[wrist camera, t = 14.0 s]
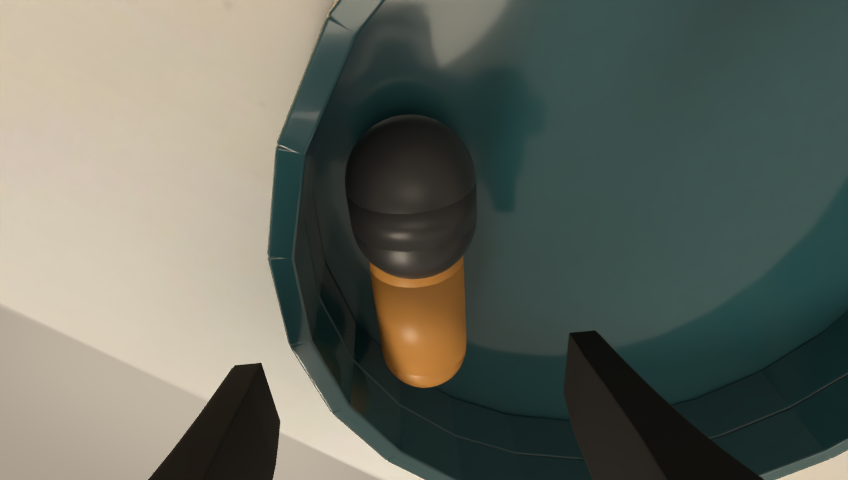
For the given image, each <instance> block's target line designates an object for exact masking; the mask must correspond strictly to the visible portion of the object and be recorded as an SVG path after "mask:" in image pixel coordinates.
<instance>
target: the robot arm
mask: <svg viewBox="0 0 848 480" xmlns="http://www.w3.org/2000/svg"><path fill="white" fill-rule="evenodd" d="M563 395H564V399H565V402H566V406H567V410H568V414H569V417H570V421H571V424H572V428H573V431H574V435H575V437H576V440H577V442H578V445H579V447H580V450H581V452H582V455H583V457H584V460H585V462H586V464H587V467H588V469H589V472H590V474H591V477H592V479H593V480H764V479H763V478H761V477H760V476H758V475H757V474H756V473H754V472H753V471H751V470H750V469H749V468H747V467H746V466H744V465H743V464H742V463H740V462H739V461H738V460H736V459H735V458H734V457H732V456H731V455H730V454H729V453H727V452H726V451H725V450H723V449H722V448H721V447H719V446H718V445H717V444H716V443H714V442H713V441H712V440H711V439H709V438H708V437H707V436H706V435H705V434H703V433H702V432H701V431H700V430H699V429H697V428H696V427H695V426H694V425H693V424H692V423H690V422H689V421H688V420H687V419H686V418H685V417H683V416H682V415H681V414H680V413H679V412H678V411H677V410H676V409H674V408H673V407H672V406H671V405H670V404H669V403H668V402H667V401H666V400H665V399H664V398H663V397H662V396H660V395H659V394H658V393H657V392H656V391H655V390H654V389H653V388H652V387H651V386H650V385H649V384H648V383H647V382H646V381H645V380H644V379H643V378H642V377H641V376H640V375H639V374H638V373H637V372H636V371H635V370H634V369H633V368H632V367H631V366H630V365H629V364H628V363H627V362H626V361H625V360H624V359H623V358H622V357H621V356H620V355H619V354H618V353H617V352H616V351H615V350H614V349H613V348H612V347H611V346H610V345H609V344H608V343H607V341H606V340H605V339H604V338H603V337H602V336H601V335H600V334H599V333H598V332H597V331H595V330H593V331H583V332H573V333H569V340H568V350H567V360H566V369H565V379H564V389H563ZM279 429H280V419H279V416H278V413H277V410H276V407H275V404H274V401H273V398H272V395H271V392H270V389H269V386H268V382H267V379H266V376H265V373H264V370H263V367H262V364H261V363H256V364H245V365H235V366H234V367H233V368H232V369H231V371H230V372H229V373H228V375H227V376H226V378H225V379H224V381H223V382H222V383H221V385H220V386H219V388H218V389H217V391H216V392H215V393H214V395H213V396H212V398H211V399H210V400H209V402H208V403H207V405H206V406H205V407H204V409H203V410H202V412H201V413H200V414H199V416H198V417H197V419H196V420H195V421H194V423H193V424H192V425H191V426H190V428H189V429H188V430H187V432H186V433H185V434H184V436H183V437H182V438H181V440H180V441H179V442H178V444H177V445H176V446H175V448H174V449H173V450H172V452H171V453H170V454H169V455H168V456H167V457H166V459H165V460H164V461H163V462H162V464H161V465H160V466H159V467H158V469H157V470H156V471H155V472H154V473H153V475H152V476H151V477H150V478H149V479H148V480H272V479H273V475H274V470H275V465H276V458H277V449H278V439H279Z"/></svg>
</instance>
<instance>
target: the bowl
mask: <svg viewBox="0 0 848 480" xmlns="http://www.w3.org/2000/svg"><path fill="white" fill-rule="evenodd" d="M408 114H413V115H422V116H426V117H429V118H432V119H435V120H438V121H440V122H441V123H443V124H445V125H446V126H448V127H449V128H451V129H452V130H453V131H454V132H455V133H456V134H457V135H458V136H459V137H460V138H461V139H462V140H463V142H464V144H465V145H466V147H467V148H468V150H469V152H470V154H471V157H472V160H473V163H474V166H475V174H476V197H477V219H476V229H475V232H474V235H473V238H472V241H471V244H470V246H469V247H468V249H467V250H466V252H465V254H464V255H463V257H464V285H465V314H466V342H467V344H466V354H465V357H464V360H463V363H462V365H461V367H460V368H459V370H458V371H457V372H456V374H455V375H454V376H453V377H452V378H450V379H449V380H448V381H446V382H444V383H442V384H440V385H438V386H434V387H429V388H420V387H414V386H411V385H408V384H406V383H404V382H402V381H401V380H399V379H398V378H397V377H396V376H395V375H394V374H393V373H392V372H391V371H390V369H389V368H388V366H387V364H386V362H385V359H384V356H383V353H382V347H381V340H380V333H379V327H378V320H377V314H376V307H375V301H374V294H373V288H372V281H371V275H370V268H369V260H368V259H367V258H366V257H365V255H364V254H363V253H362V252H361V250H360V248H359V246H358V245H357V243H356V240H355V238H354V234H353V231H352V227H351V221H350V215H349V209H348V203H347V197H346V191H345V172H346V166H347V161H348V159H349V156H350V154H351V151H352V149H353V147H354V146H355V144H356V143H357V142H358V140H359V139H360V137H361V136H362V135H363V134H364V133H365V132H367V131H368V130H369V129H370V128H371V127H372V126H374V125H375V124H377V123H379V122H381V121H383V120H385V119H387V118H390V117H394V116H399V115H408ZM267 253H268V261H269V265H270V269H271V274H272V278H273V282H274V286H275V290H276V294H277V298H278V302H279V306H280V310H281V314H282V318H283V322H284V326H285V331H286V335H287V339H288V343H289V344H290V347H291V349H292V351H293V352H294V354H295V355H296V357H297V358H298V360H299V362H300V363H301V365H302V366H303V368H304V370H305V371H306V373H307V374H308V376H309V378H310V379H311V381H312V382H313V384H314V386H315V387H316V389H317V390H318V392H319V393H320V395H321V397H322V398H323V400H324V401H325V403H326V405H327V406H328V408H329V409H330V411H331V412H333V414H334V415H335V416H336V417H337V418H338V419H339V420H341V421H342V422H343V423H344V424H345V425H346V426H348V427H349V428H350V429H351V430H352V431H353V432H354V433H356V434H357V435H358V436H359V437H360V438H361V439H363V440H364V441H365V442H366V443H367V444H368V445H369V446H371V447H372V448H373V449H374V450H375V451H376V452H378V453H379V454H380V455H381V456H382V457H383V458H385V459H386V460H388V461H389V462H390V463H392V464H394V465H396V466H398V467H401V468H403V469H405V470H407V471H409V472H411V473H413V474H415V475H417V476H419V477H421V478H423V479H425V480H593V479H592V477H591V474H590V472H589V469H588V467H587V464H586V462H585V460H584V457H583V455H582V452H581V450H580V447H579V445H578V442H577V440H576V437H575V435H574V431H573V428H572V424H571V421H570V417H569V414H568V410H567V406H566V402H565V399H564V395H563V389H564V379H565V369H566V360H567V350H568V340H569V333H573V332H583V331H593V330H595V331H597V332H598V333H599V334H600V335H601V336H602V337H603V338H604V339H605V340H606V341H607V343H608V344H609V345H610V346H611V347H612V348H613V349H614V350H615V351H616V352H617V353H618V354H619V355H620V356H621V357H622V358H623V359H624V360H625V361H626V362H627V363H628V364H629V365H630V366H631V367H632V368H633V369H634V370H635V371H636V372H637V373H638V374H639V375H640V376H641V377H642V378H643V379H644V380H645V381H646V382H647V383H648V384H649V385H650V386H651V387H652V388H653V389H654V390H655V391H656V392H657V393H658V394H659V395H660V396H662V397H663V398H664V399H665V400H666V401H667V402H668V403H669V404H670V405H671V406H672V407H673V408H674V409H676V410H677V411H678V412H679V413H680V414H681V415H682V416H683V417H685V418H686V419H687V420H688V421H689V422H690V423H692V424H693V425H694V426H695V427H696V428H697V429H699V430H700V431H701V432H702V433H703V434H705V435H706V436H707V437H708V438H709V439H711V440H712V441H713V442H714V443H716V444H717V445H718V446H719V447H721V448H722V449H723V450H725V451H726V452H727V453H729V454H730V455H731V456H732V457H734V458H735V459H736V460H738V461H739V462H740V463H742V464H743V465H744V466H746V467H747V468H749V469H750V470H751V471H753V472H754V473H756V474H757V475H758V476H760V477H761V478H763V479H764V480H776V479H778V478H781V477H784V476H786V475H789V474H792V473H794V472H797V471H800V470H802V469H805V468H808V467H810V466H813V465H816V464H818V463H821V462H824V461H826V460H829V459H830V458H834V457H835V456H837V455H839V454H841V453H843V452H845V451H847V450H848V0H335V1H334V3H333V5H332V7H331V9H330V11H329V13H328V15H327V17H326V19H325V22H324V24H323V27H322V29H321V32H320V34H319V37H318V39H317V42H316V45H315V47H314V50H313V52H312V55H311V57H310V60H309V62H308V65H307V67H306V70H305V72H304V75H303V77H302V80H301V82H300V85H299V88H298V90H297V93H296V95H295V98H294V100H293V103H292V105H291V108H290V110H289V113H288V115H287V118H286V120H285V123H284V125H283V128H282V131H281V133H280V136H279V138H278V141H277V146H276V150H275V163H274V175H273V188H272V201H271V213H270V226H269V239H268V251H267Z"/></svg>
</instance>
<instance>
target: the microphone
mask: <svg viewBox="0 0 848 480" xmlns="http://www.w3.org/2000/svg"><path fill="white" fill-rule="evenodd" d="M345 191H346V197H347V203H348V209H349V215H350V221H351V227H352V231H353V234H354V238H355V240H356V243H357V245H358V246H359V248H360V250H361V252H362V253H363V254H364V255H365V257H366V258H367V259H368V260H369V268H370V275H371V281H372V288H373V294H374V301H375V307H376V314H377V320H378V327H379V333H380V340H381V347H382V353H383V356H384V359H385V362H386V364H387V366H388V368H389V369H390V371H391V372H392V373H393V374H394V375H395V376H396V377H397V378H398V379H399V380H401V381H402V382H404V383H406V384H408V385H411V386H414V387H420V388H429V387H434V386H438V385H440V384H442V383H444V382H446V381H448V380H449V379H450V378H452V377H453V376H454V375H455V374H456V372H457V371H458V370H459V368H460V367H461V365H462V363H463V360H464V357H465V354H466V344H467V342H466V314H465V285H464V257H463V255H464V254H465V252H466V250H467V249H468V247H469V246H470V244H471V241H472V238H473V235H474V232H475V229H476V219H477V197H476V174H475V166H474V163H473V160H472V157H471V154H470V152H469V150H468V148H467V147H466V145H465V144H464V142H463V140H462V139H461V138H460V137H459V136H458V135H457V134H456V133H455V132H454V131H453V130H452V129H451V128H449V127H448V126H446V125H445V124H443V123H441V122H440V121H438V120H435V119H432V118H429V117H426V116H422V115H413V114H408V115H399V116H394V117H390V118H387V119H385V120H383V121H381V122H379V123H377V124H375V125H374V126H372V127H371V128H370V129H369V130H368V131H367V132H365V133H364V134H363V135H362V136H361V137H360V139H359V140H358V142H357V143H356V144H355V146H354V147H353V149H352V151H351V154H350V156H349V159H348V161H347V166H346V172H345Z"/></svg>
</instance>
